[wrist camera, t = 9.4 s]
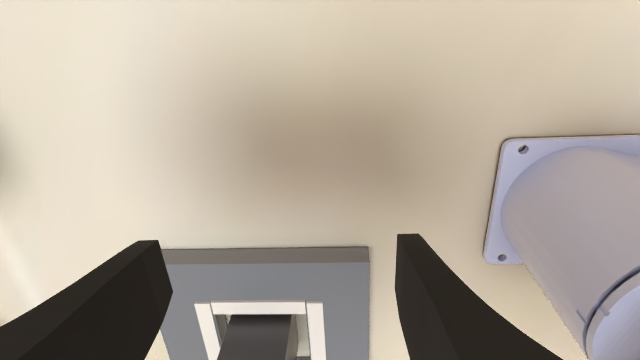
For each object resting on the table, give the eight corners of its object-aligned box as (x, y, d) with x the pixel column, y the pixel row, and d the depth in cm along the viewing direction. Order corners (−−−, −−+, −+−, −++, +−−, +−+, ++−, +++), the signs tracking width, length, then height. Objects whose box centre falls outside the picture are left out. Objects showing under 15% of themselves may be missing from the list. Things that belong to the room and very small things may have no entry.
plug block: (293, 299, 26) (282, 376, 21) (298, 341, 28) (289, 421, 23) (236, 300, 26) (211, 376, 21) (244, 341, 28) (223, 420, 23)
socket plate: (367, 246, 24) (369, 264, 22) (366, 392, 30) (368, 413, 28) (150, 250, 25) (137, 266, 23) (193, 390, 31) (185, 411, 29)
